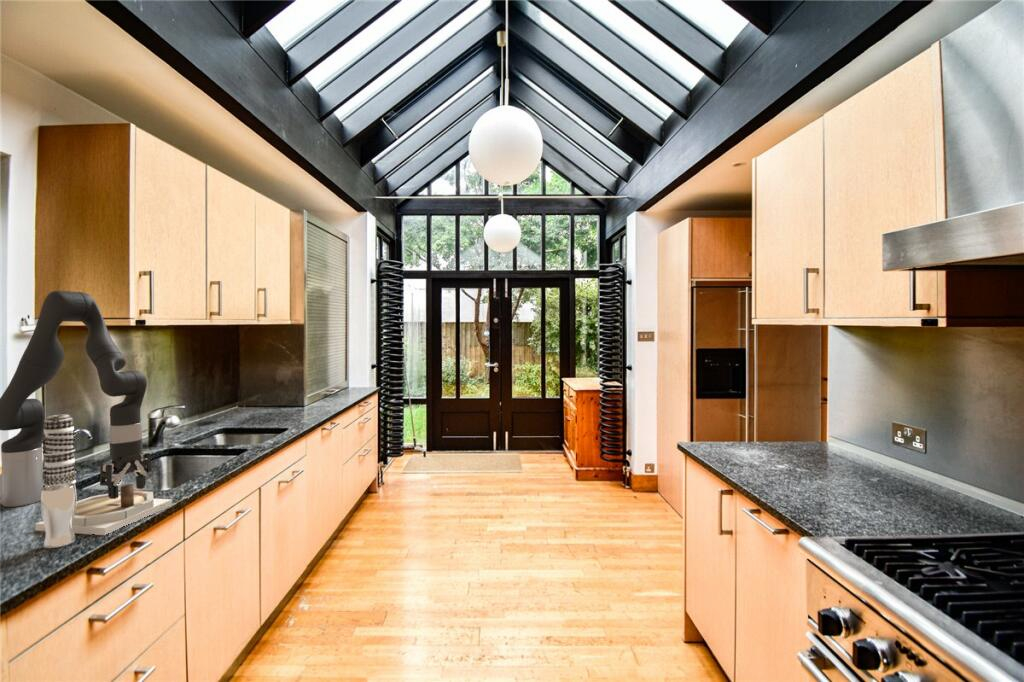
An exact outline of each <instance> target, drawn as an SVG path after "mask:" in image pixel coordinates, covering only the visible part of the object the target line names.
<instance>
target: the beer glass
mask: <svg viewBox="0 0 1024 682" xmlns="http://www.w3.org/2000/svg"><path fill="white" fill-rule="evenodd" d="M76 486H77V485H76V482H75V483H61V484H55V485H51V486H47V487H44V486H43V488H42V489H41V500H40V501H39V502H40V503H39V505H40V513H41V514H40V515H41V518H42V521H43V522H44V526H45V531H44V532H45V538H44V541H43V548H45V549H55V548H61V547H62V548H63V547H65V546H68V545H70V544H72V543H74V542H75V541H76V539H77V537H76V535H75V534H76V533H74V530H73V523H74V518H75V513H76V507H77V501H78V493H77V488H76Z"/></svg>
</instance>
